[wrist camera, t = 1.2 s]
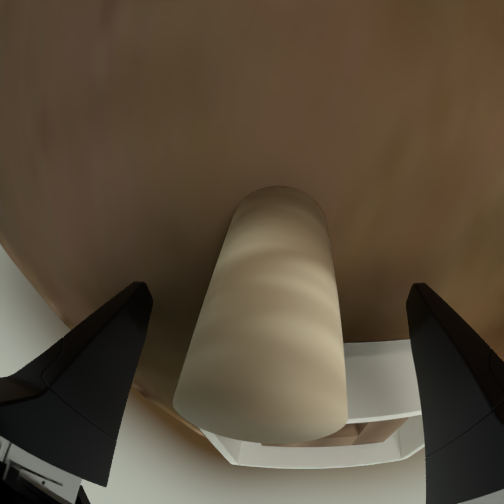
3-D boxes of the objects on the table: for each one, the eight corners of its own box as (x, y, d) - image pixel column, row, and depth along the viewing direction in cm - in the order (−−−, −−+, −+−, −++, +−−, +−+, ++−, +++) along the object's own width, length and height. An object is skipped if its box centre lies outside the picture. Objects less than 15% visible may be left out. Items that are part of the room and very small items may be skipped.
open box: (469, 332, 15) (489, 393, 11) (401, 419, 24) (405, 459, 20) (203, 339, 18) (184, 410, 14) (238, 423, 27) (231, 464, 23)
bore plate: (427, 365, 16) (433, 390, 14) (382, 424, 23) (383, 442, 21) (252, 372, 17) (248, 399, 16) (263, 427, 25) (261, 445, 23)
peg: (328, 185, 11) (366, 385, 4) (324, 266, 13) (333, 444, 7) (225, 188, 11) (145, 372, 5) (238, 267, 14) (197, 435, 7)
